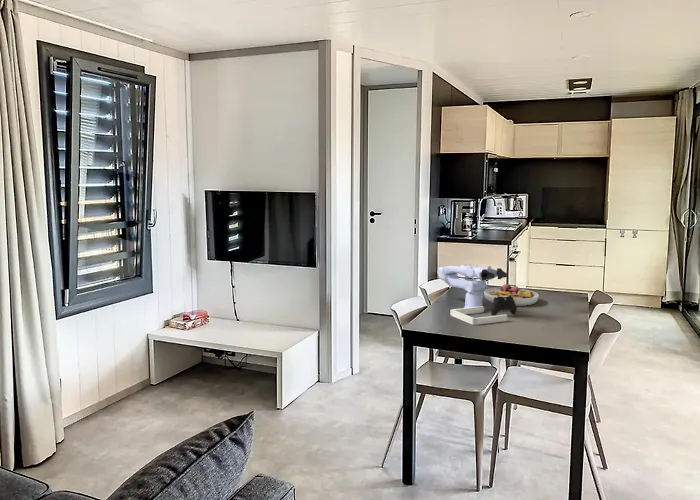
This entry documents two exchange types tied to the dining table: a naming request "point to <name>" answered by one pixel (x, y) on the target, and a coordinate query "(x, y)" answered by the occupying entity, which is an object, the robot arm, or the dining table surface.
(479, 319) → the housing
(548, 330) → the dining table surface
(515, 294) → the bowl
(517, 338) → the dining table surface
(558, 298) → the dining table surface
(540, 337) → the dining table surface
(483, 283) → the robot arm
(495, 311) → the gaming controller
